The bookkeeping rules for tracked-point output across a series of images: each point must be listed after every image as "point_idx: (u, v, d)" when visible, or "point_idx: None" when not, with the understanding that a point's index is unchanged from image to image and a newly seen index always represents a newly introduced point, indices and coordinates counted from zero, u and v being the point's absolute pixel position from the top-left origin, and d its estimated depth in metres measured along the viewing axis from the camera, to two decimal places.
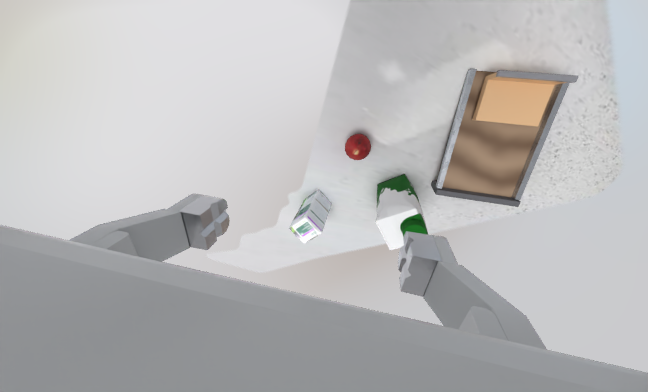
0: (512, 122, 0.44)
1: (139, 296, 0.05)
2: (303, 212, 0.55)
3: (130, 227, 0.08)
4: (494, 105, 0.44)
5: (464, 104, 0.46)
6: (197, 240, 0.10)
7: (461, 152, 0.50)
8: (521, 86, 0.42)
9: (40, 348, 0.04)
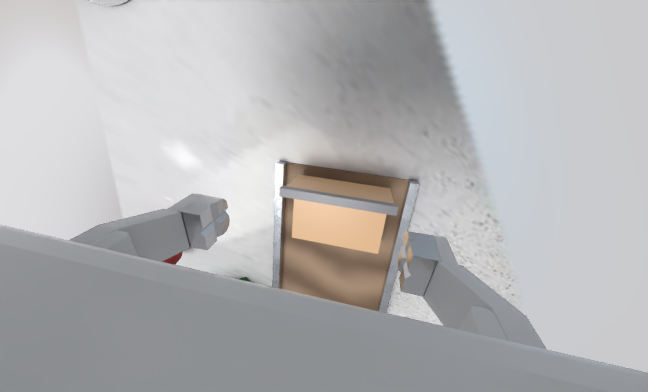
0: (341, 245, 0.29)
1: (139, 296, 0.05)
2: None
3: (130, 227, 0.08)
4: (312, 220, 0.28)
5: (279, 210, 0.30)
6: (197, 240, 0.10)
7: (297, 267, 0.35)
8: None
9: (40, 348, 0.04)
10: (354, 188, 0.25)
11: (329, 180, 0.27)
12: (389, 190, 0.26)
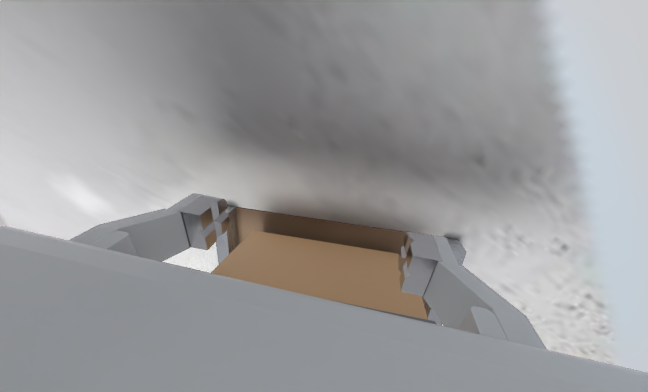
0: None
1: (139, 296, 0.05)
2: None
3: (130, 227, 0.08)
4: None
5: None
6: (197, 240, 0.10)
7: None
8: None
9: (40, 348, 0.04)
10: (345, 264, 0.14)
11: (302, 242, 0.16)
12: None
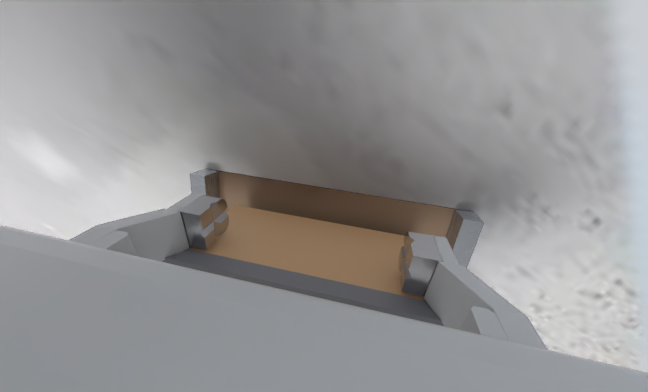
0: None
1: (139, 296, 0.05)
2: None
3: (130, 227, 0.08)
4: None
5: None
6: (197, 240, 0.10)
7: None
8: None
9: (40, 348, 0.04)
10: (340, 242, 0.12)
11: (292, 219, 0.14)
12: None
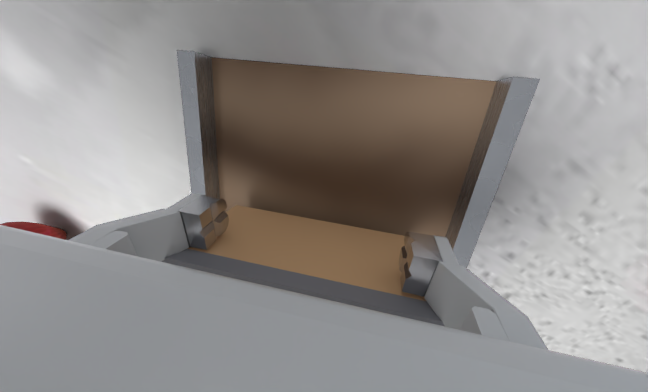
0: None
1: (139, 296, 0.05)
2: None
3: (129, 227, 0.08)
4: None
5: (198, 168, 0.14)
6: (196, 240, 0.10)
7: None
8: None
9: (40, 349, 0.04)
10: (339, 242, 0.12)
11: (292, 219, 0.14)
12: None
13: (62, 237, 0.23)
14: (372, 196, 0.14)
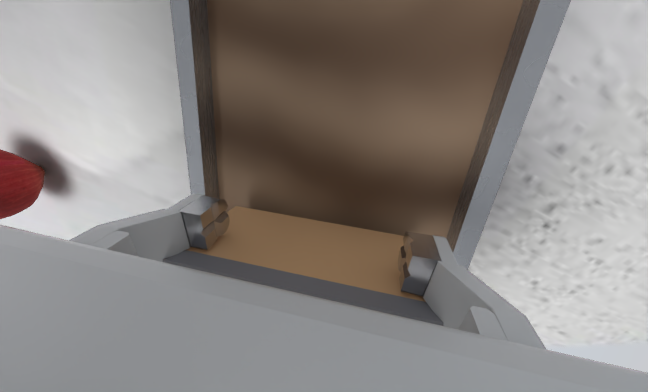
0: None
1: (139, 296, 0.05)
2: None
3: (130, 227, 0.08)
4: None
5: (185, 37, 0.12)
6: (197, 240, 0.10)
7: (249, 207, 0.16)
8: None
9: (40, 348, 0.04)
10: (340, 242, 0.12)
11: (292, 220, 0.14)
12: None
13: (39, 171, 0.20)
14: (396, 69, 0.12)
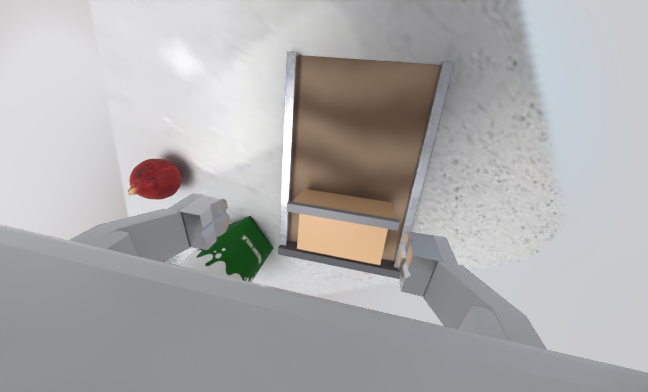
0: (345, 256, 0.30)
1: (139, 296, 0.05)
2: None
3: (130, 227, 0.08)
4: (316, 232, 0.30)
5: (290, 113, 0.27)
6: (197, 240, 0.10)
7: None
8: None
9: (40, 348, 0.04)
10: (357, 202, 0.27)
11: (333, 194, 0.29)
12: (390, 204, 0.27)
13: None
14: (381, 127, 0.27)
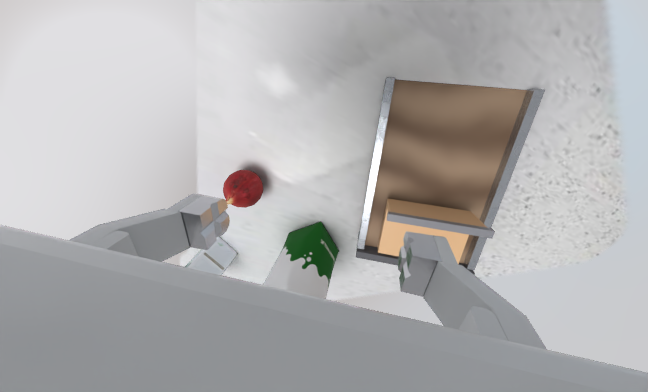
0: None
1: (139, 296, 0.05)
2: None
3: (130, 227, 0.08)
4: (399, 238, 0.33)
5: (382, 131, 0.30)
6: (197, 240, 0.10)
7: None
8: None
9: (40, 348, 0.04)
10: (443, 212, 0.30)
11: (416, 204, 0.32)
12: (472, 213, 0.30)
13: None
14: (465, 144, 0.30)
